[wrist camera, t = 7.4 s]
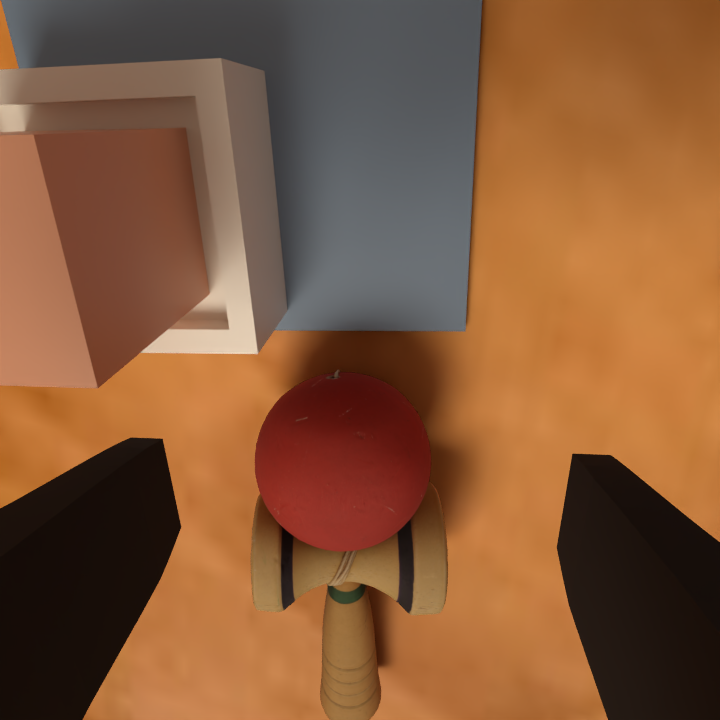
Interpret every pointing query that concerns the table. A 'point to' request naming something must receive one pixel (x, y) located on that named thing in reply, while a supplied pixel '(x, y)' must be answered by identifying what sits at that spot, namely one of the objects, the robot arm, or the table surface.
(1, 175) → the terracotta block
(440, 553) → the kendama
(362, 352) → the table surface
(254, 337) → the base block
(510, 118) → the table surface
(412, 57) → the mat
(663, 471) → the table surface
